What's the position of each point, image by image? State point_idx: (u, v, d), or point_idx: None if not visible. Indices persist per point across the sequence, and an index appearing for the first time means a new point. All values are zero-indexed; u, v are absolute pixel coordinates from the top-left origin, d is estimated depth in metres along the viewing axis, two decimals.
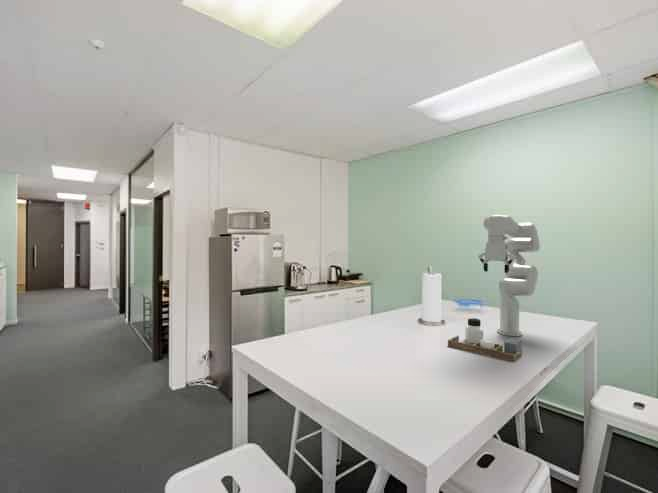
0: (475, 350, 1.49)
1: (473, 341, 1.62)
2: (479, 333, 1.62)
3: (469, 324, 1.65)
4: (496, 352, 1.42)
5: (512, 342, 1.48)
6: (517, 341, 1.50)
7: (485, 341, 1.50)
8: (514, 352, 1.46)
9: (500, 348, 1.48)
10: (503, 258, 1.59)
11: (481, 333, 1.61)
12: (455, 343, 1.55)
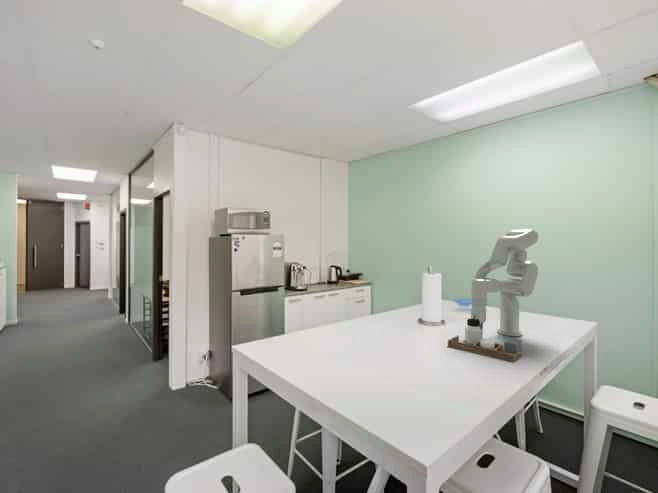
0: (475, 350, 1.49)
1: (472, 341, 1.62)
2: (478, 334, 1.61)
3: (468, 324, 1.64)
4: (496, 352, 1.42)
5: (512, 342, 1.48)
6: (517, 341, 1.50)
7: (485, 341, 1.50)
8: (514, 352, 1.46)
9: (500, 348, 1.48)
10: (485, 319, 1.72)
11: (480, 333, 1.61)
12: (455, 343, 1.55)
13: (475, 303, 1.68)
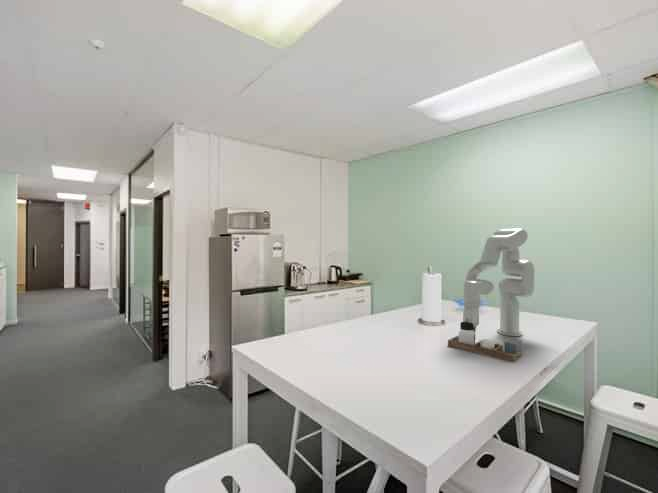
0: (475, 350, 1.49)
1: None
2: (469, 338, 1.54)
3: (461, 327, 1.58)
4: (496, 352, 1.42)
5: (512, 342, 1.48)
6: (517, 341, 1.50)
7: (485, 341, 1.50)
8: (514, 352, 1.46)
9: (500, 348, 1.48)
10: (478, 322, 1.64)
11: (472, 338, 1.53)
12: (455, 343, 1.55)
13: (467, 306, 1.61)
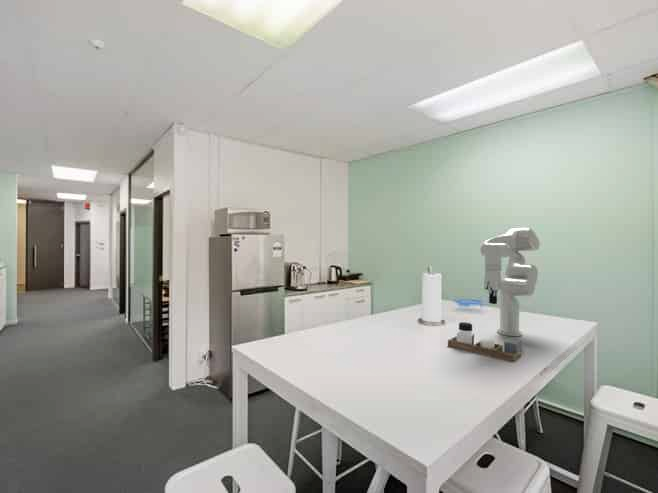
0: (475, 350, 1.49)
1: None
2: (468, 338, 1.53)
3: (459, 328, 1.57)
4: (496, 352, 1.42)
5: (512, 342, 1.48)
6: (517, 341, 1.50)
7: (485, 341, 1.50)
8: (514, 352, 1.46)
9: (500, 348, 1.48)
10: (500, 286, 1.63)
11: (470, 338, 1.52)
12: (455, 343, 1.55)
13: (489, 269, 1.59)
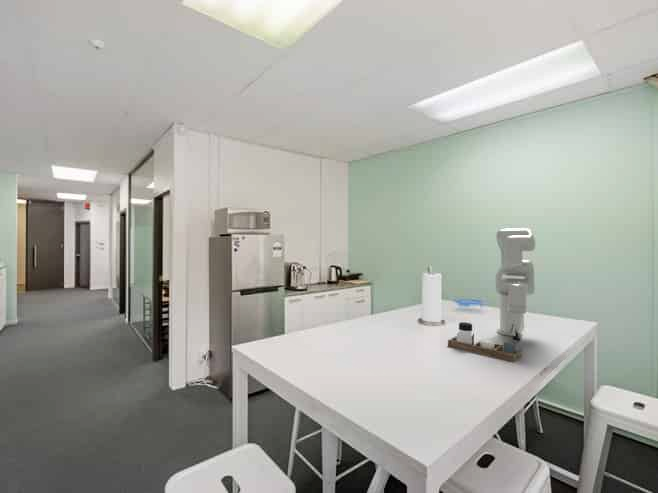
0: (475, 350, 1.49)
1: None
2: (468, 338, 1.53)
3: (459, 328, 1.57)
4: (496, 352, 1.42)
5: (511, 343, 1.47)
6: (516, 342, 1.49)
7: (485, 341, 1.50)
8: (513, 353, 1.45)
9: (500, 348, 1.48)
10: (523, 328, 1.56)
11: (470, 338, 1.52)
12: (455, 343, 1.55)
13: (513, 310, 1.52)
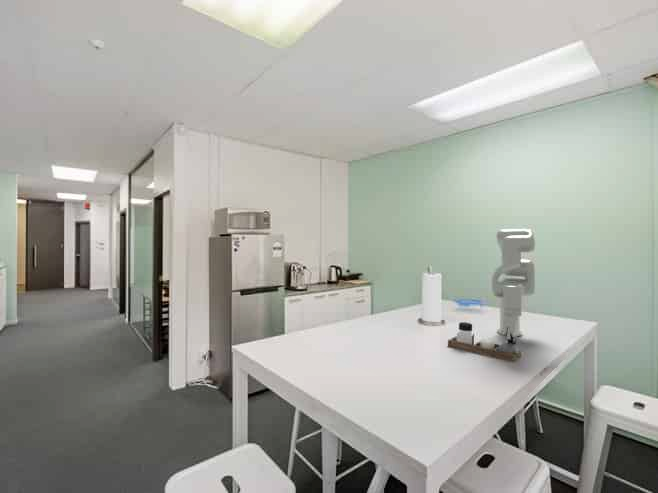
0: (475, 350, 1.49)
1: None
2: (468, 338, 1.53)
3: (459, 328, 1.57)
4: (496, 352, 1.42)
5: (506, 346, 1.42)
6: (511, 345, 1.43)
7: (485, 341, 1.50)
8: None
9: None
10: (519, 331, 1.50)
11: (470, 338, 1.52)
12: (455, 343, 1.55)
13: (508, 313, 1.46)
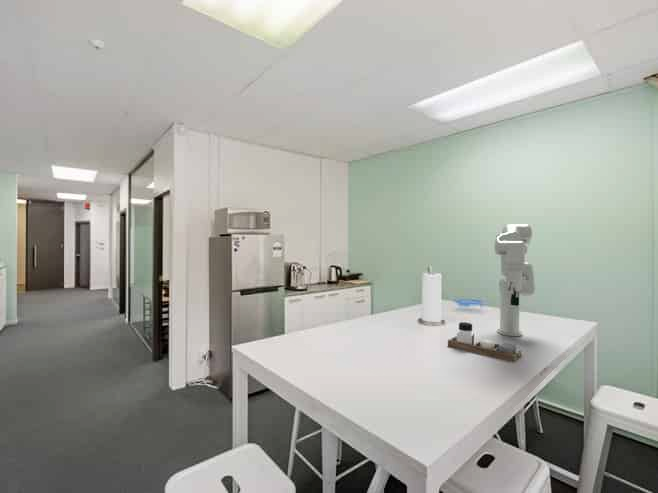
0: (475, 350, 1.49)
1: None
2: (468, 338, 1.53)
3: (459, 328, 1.57)
4: (496, 352, 1.42)
5: (506, 346, 1.42)
6: (511, 345, 1.43)
7: (485, 341, 1.50)
8: None
9: None
10: (522, 287, 1.53)
11: (470, 338, 1.52)
12: (455, 343, 1.55)
13: (511, 268, 1.50)
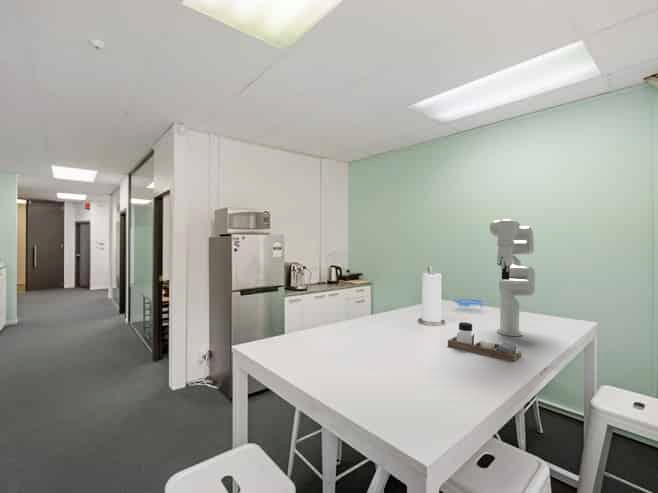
0: (475, 350, 1.49)
1: None
2: (468, 338, 1.53)
3: (459, 328, 1.57)
4: (496, 352, 1.42)
5: (506, 346, 1.42)
6: (511, 345, 1.43)
7: (485, 341, 1.50)
8: None
9: None
10: (512, 262, 1.63)
11: (470, 338, 1.52)
12: (455, 343, 1.55)
13: (502, 244, 1.60)
